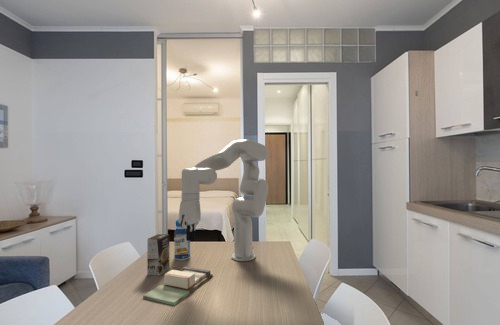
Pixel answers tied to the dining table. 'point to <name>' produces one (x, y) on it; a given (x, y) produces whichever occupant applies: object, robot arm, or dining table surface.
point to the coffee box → (158, 254)
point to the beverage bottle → (181, 243)
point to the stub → (179, 279)
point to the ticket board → (178, 288)
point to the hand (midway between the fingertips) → (190, 240)
